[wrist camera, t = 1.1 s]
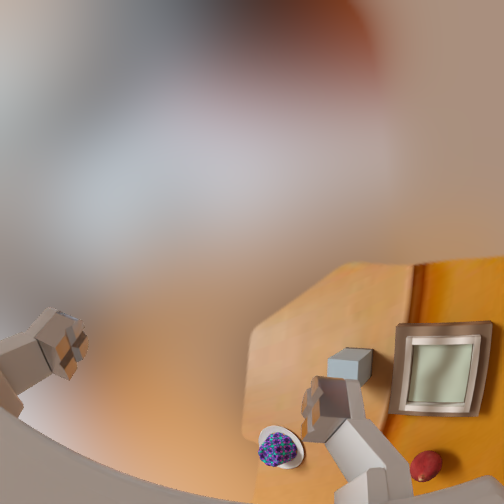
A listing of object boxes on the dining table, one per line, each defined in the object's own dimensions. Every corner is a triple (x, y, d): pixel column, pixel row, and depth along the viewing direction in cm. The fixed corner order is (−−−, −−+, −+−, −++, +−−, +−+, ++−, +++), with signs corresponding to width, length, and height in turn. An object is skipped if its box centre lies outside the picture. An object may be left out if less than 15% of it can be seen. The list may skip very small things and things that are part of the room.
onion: (449, 447, 32) (445, 472, 26) (434, 470, 33) (427, 495, 27) (423, 439, 36) (415, 463, 30) (409, 461, 37) (398, 486, 30)
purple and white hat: (279, 415, 56) (264, 424, 52) (315, 452, 49) (303, 464, 45) (252, 439, 60) (237, 448, 55) (284, 474, 53) (271, 484, 49)
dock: (490, 320, 32) (493, 325, 29) (477, 408, 31) (478, 420, 28) (399, 323, 42) (394, 328, 39) (392, 406, 41) (385, 417, 38)
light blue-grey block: (373, 348, 45) (358, 361, 39) (371, 376, 44) (356, 392, 38) (346, 347, 48) (328, 358, 42) (345, 373, 48) (326, 388, 41)
